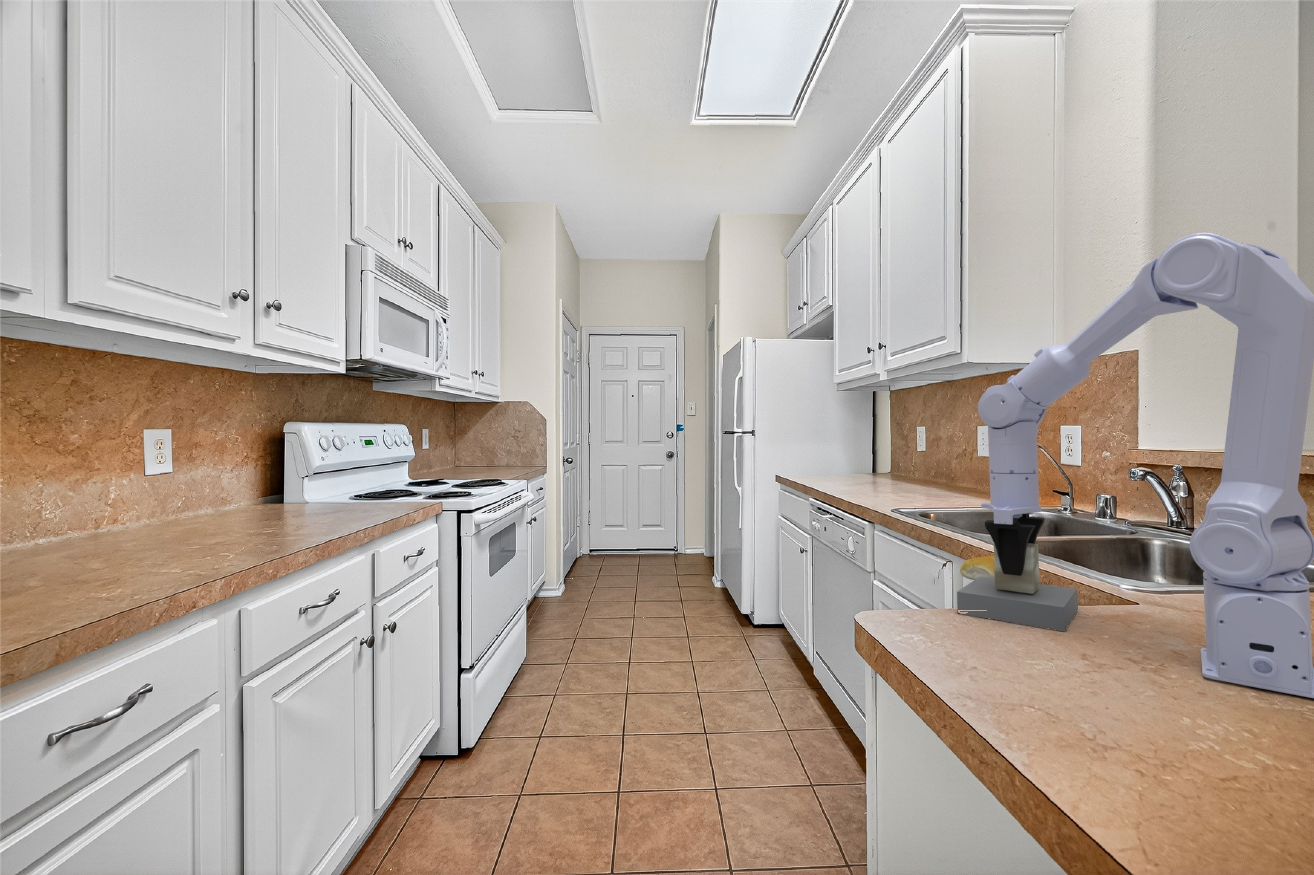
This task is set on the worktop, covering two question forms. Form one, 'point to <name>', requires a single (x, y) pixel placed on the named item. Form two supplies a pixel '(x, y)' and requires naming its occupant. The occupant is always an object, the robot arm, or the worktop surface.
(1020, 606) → the slate plinth
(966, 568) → the bread roll
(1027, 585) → the sage block
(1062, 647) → the worktop surface
